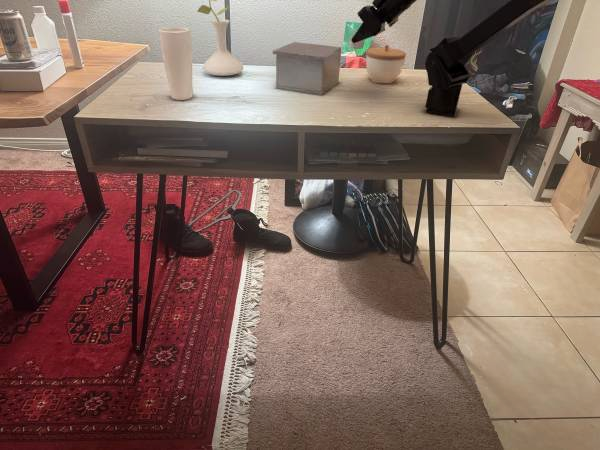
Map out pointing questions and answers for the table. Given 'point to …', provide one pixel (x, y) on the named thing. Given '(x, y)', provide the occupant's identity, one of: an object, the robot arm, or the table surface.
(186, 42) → the drinking glass
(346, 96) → the table surface
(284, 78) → the tin
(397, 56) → the trinket box
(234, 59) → the flower in vase
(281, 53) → the lid
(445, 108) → the robot arm
